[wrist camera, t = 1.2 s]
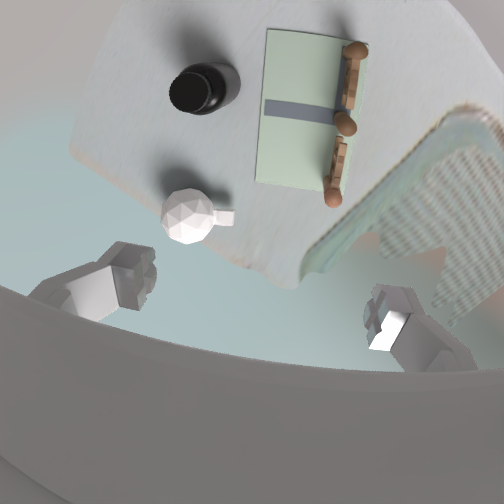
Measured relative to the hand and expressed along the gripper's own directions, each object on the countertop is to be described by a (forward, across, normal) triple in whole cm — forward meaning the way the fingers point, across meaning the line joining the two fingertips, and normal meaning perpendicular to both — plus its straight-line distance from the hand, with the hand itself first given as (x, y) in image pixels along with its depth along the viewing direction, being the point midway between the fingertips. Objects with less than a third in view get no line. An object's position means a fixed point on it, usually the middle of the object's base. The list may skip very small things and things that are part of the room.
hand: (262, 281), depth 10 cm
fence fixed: (+34, -7, -10) cm, 36 cm away
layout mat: (+35, -3, -4) cm, 35 cm away
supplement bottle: (+35, +10, -7) cm, 37 cm away
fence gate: (+34, -8, +2) cm, 35 cm away
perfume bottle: (+37, +12, +14) cm, 41 cm away
